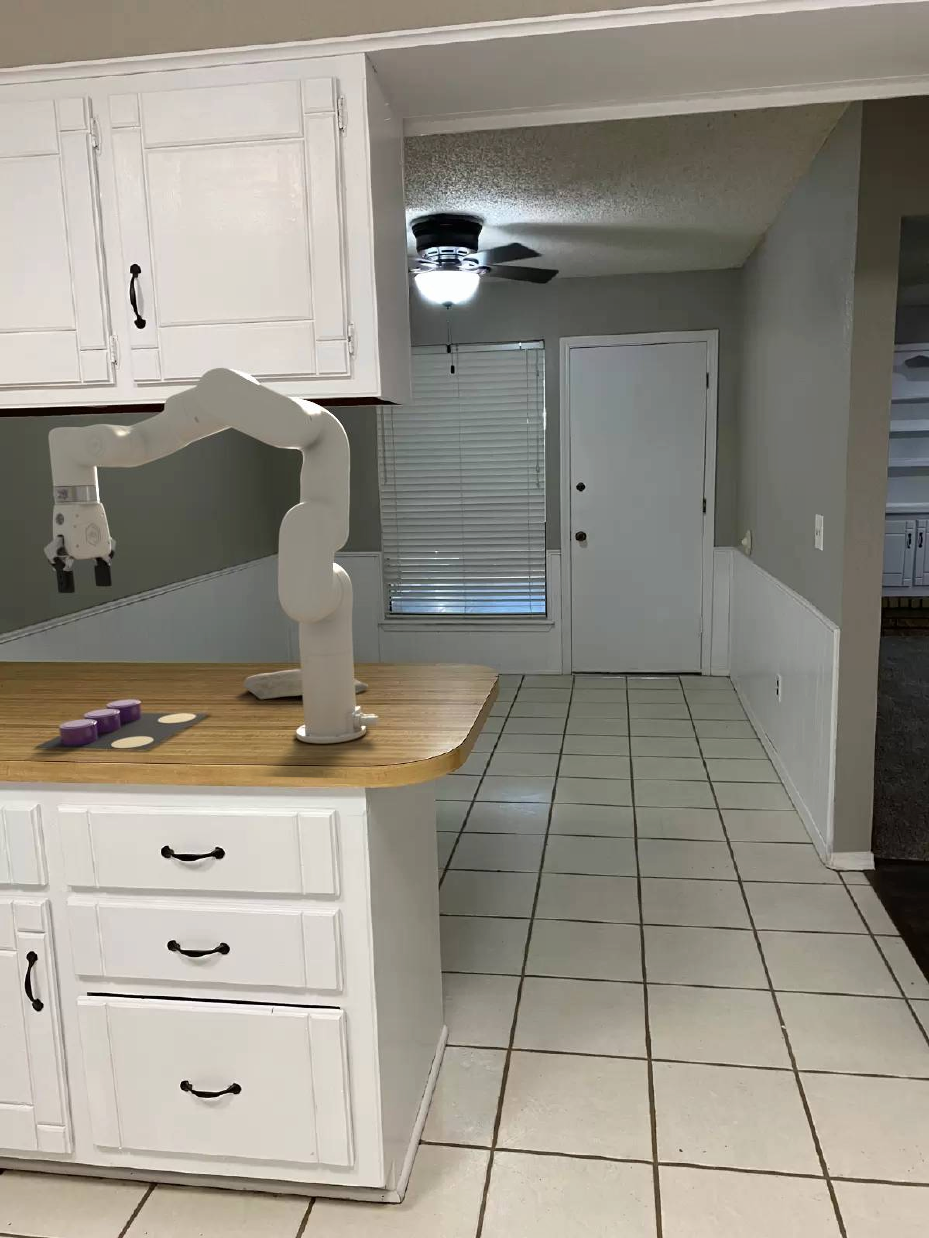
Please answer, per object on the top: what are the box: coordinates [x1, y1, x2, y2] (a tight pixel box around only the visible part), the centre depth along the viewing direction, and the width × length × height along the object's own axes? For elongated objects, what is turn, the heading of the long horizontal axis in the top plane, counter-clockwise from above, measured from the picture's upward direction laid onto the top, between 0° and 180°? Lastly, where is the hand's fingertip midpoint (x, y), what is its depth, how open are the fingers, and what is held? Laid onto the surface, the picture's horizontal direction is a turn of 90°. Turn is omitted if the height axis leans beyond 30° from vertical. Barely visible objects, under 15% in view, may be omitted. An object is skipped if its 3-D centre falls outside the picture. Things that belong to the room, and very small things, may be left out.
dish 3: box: [106, 698, 143, 723], centre depth 180 cm, size 6×6×3 cm
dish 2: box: [83, 708, 121, 734], centre depth 173 cm, size 6×6×3 cm
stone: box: [242, 668, 369, 700], centre depth 199 cm, size 28×7×15 cm
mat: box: [36, 712, 210, 751], centre depth 172 cm, size 22×24×1 cm
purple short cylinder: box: [58, 718, 98, 746], centre depth 165 cm, size 6×6×3 cm
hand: (85, 589), depth 167 cm, fingers open, 9 cm apart
